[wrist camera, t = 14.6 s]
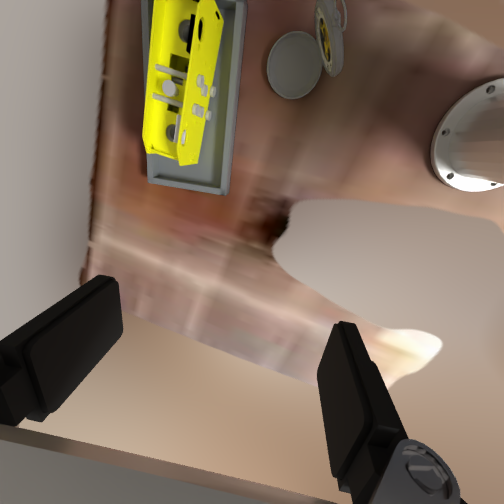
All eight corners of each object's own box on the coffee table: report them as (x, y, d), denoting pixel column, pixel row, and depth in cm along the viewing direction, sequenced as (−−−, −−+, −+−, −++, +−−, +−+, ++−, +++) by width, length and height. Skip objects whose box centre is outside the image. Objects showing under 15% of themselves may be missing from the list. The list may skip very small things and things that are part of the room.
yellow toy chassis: (202, 164, 34) (179, 168, 27) (165, 152, 34) (131, 152, 27) (229, 25, 28) (209, -22, 20) (183, 10, 28) (145, -43, 20)
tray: (247, 5, 27) (244, -8, 25) (229, 192, 36) (225, 195, 34) (151, -7, 28) (140, -21, 26) (156, 180, 37) (147, 182, 34)
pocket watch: (257, 78, 30) (245, 47, 21) (299, 3, 27) (307, -73, 18) (307, 119, 31) (318, 106, 22) (353, 51, 28) (388, 3, 19)
